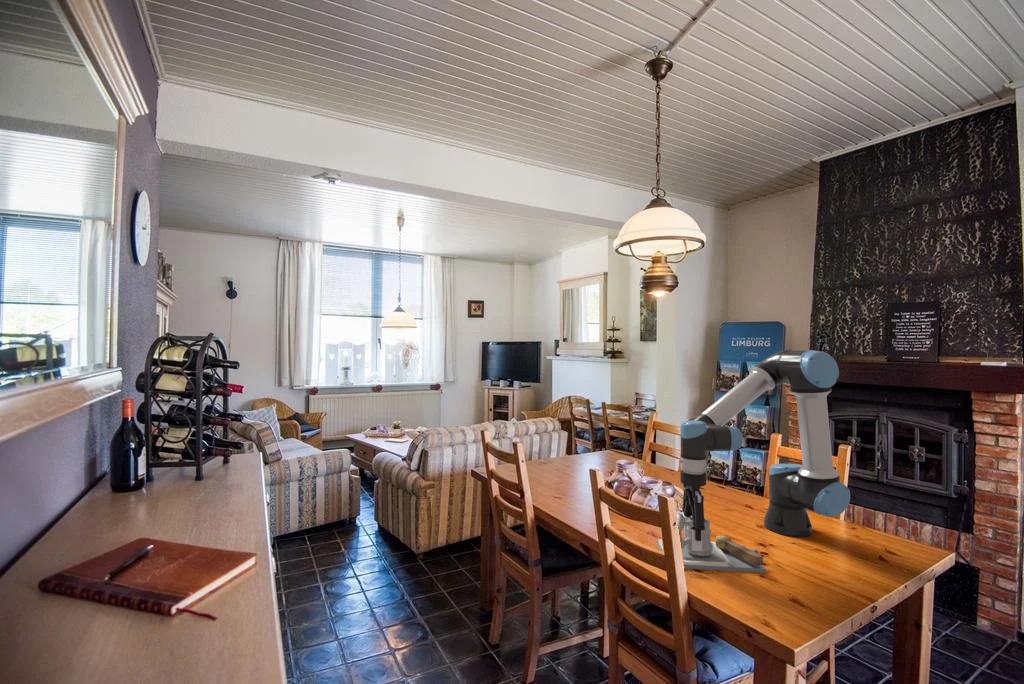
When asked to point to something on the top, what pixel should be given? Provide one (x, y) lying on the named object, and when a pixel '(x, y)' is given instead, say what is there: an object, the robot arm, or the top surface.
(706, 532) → the mug
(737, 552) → the bar
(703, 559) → the board
